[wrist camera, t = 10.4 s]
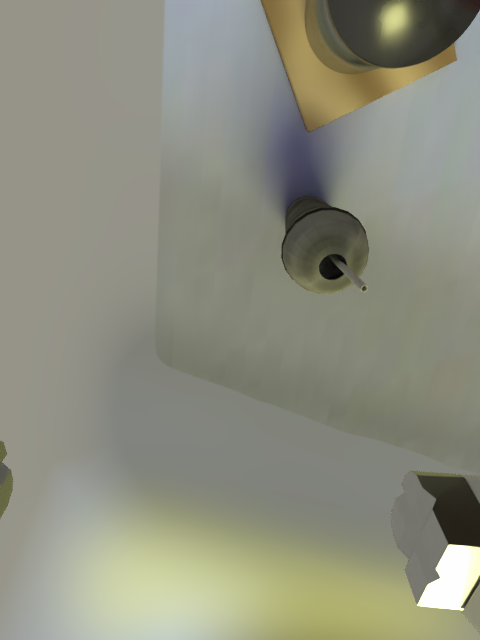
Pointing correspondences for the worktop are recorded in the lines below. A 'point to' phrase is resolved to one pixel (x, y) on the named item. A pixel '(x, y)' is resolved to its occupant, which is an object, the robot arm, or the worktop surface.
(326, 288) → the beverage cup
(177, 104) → the worktop surface
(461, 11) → the press
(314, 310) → the worktop surface
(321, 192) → the worktop surface
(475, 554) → the robot arm
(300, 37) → the plate
